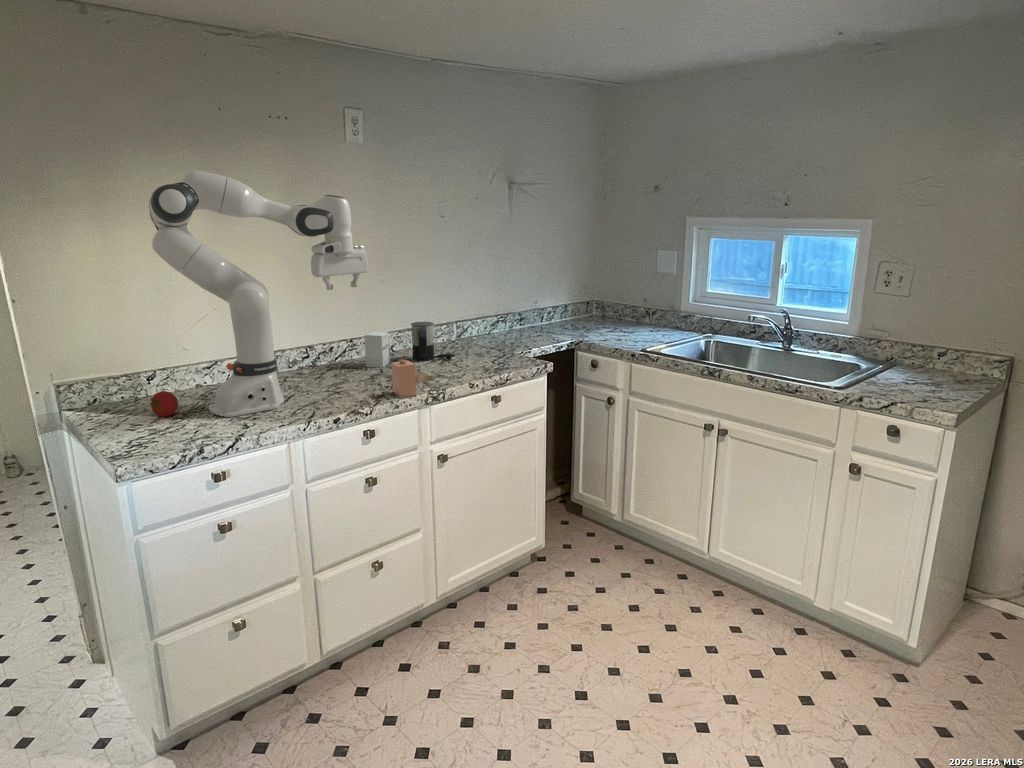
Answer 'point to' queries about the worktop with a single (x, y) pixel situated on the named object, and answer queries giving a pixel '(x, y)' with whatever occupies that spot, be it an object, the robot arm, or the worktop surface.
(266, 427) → the worktop surface
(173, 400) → the tomato
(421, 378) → the tile
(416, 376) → the block
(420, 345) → the milk frother
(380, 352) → the supplement box
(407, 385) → the tan tall prism
